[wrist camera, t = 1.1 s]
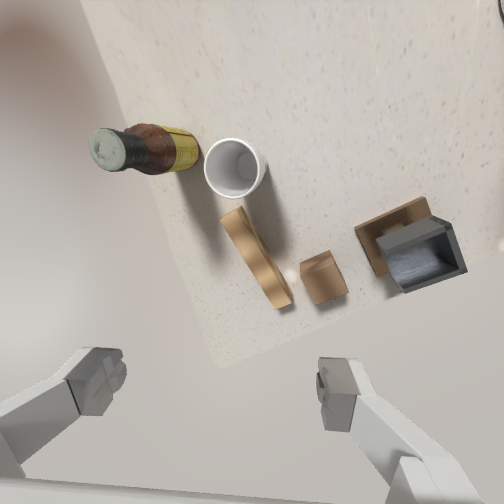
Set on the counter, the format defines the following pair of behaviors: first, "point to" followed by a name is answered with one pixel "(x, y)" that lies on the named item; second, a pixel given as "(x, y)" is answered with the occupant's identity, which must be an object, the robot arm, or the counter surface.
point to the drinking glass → (234, 168)
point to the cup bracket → (412, 246)
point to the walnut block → (322, 278)
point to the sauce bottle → (144, 149)
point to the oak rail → (257, 257)
